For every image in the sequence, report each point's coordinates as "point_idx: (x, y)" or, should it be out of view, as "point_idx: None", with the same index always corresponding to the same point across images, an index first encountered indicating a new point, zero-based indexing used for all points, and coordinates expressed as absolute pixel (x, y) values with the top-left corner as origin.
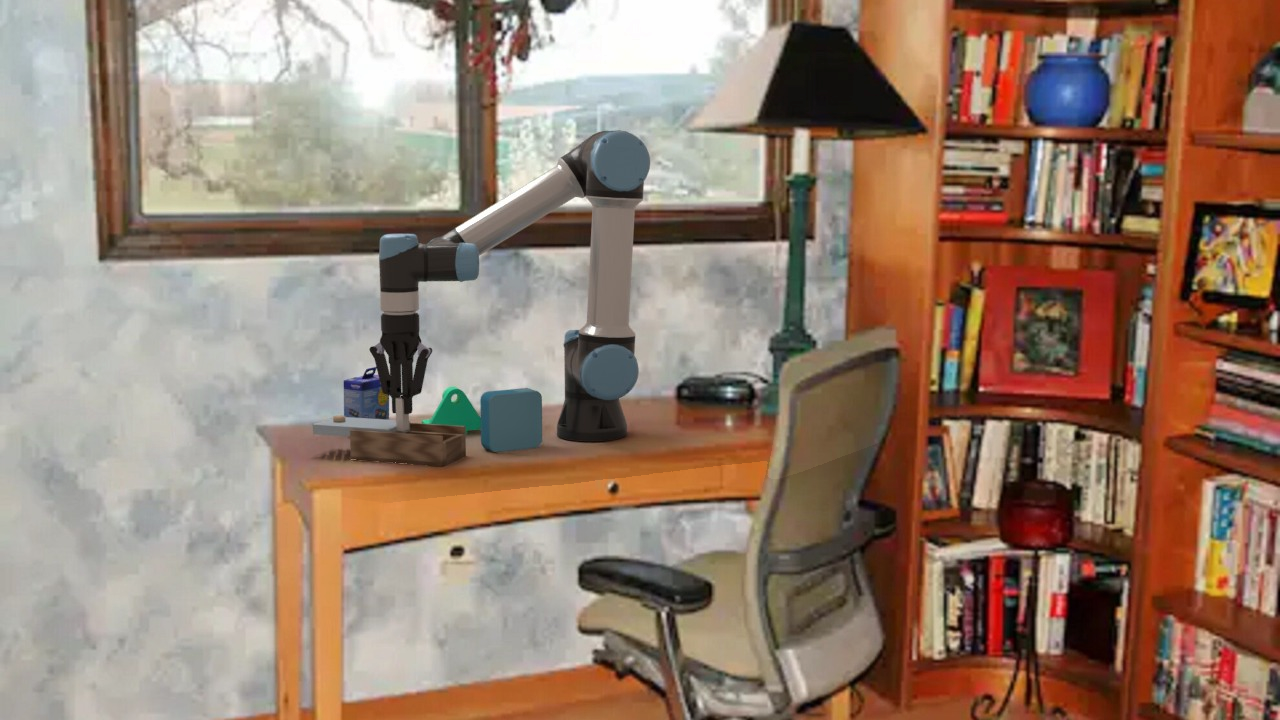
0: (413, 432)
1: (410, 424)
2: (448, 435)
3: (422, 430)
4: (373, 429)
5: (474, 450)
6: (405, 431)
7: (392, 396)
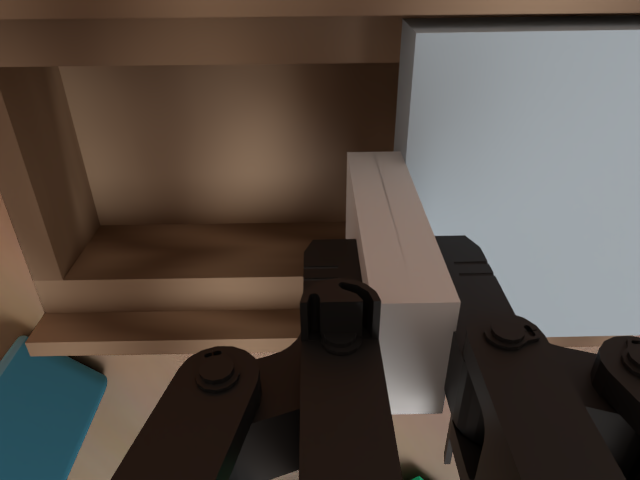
0: None
1: None
2: (118, 275)
3: None
4: (562, 30)
5: None
6: None
7: (511, 323)
